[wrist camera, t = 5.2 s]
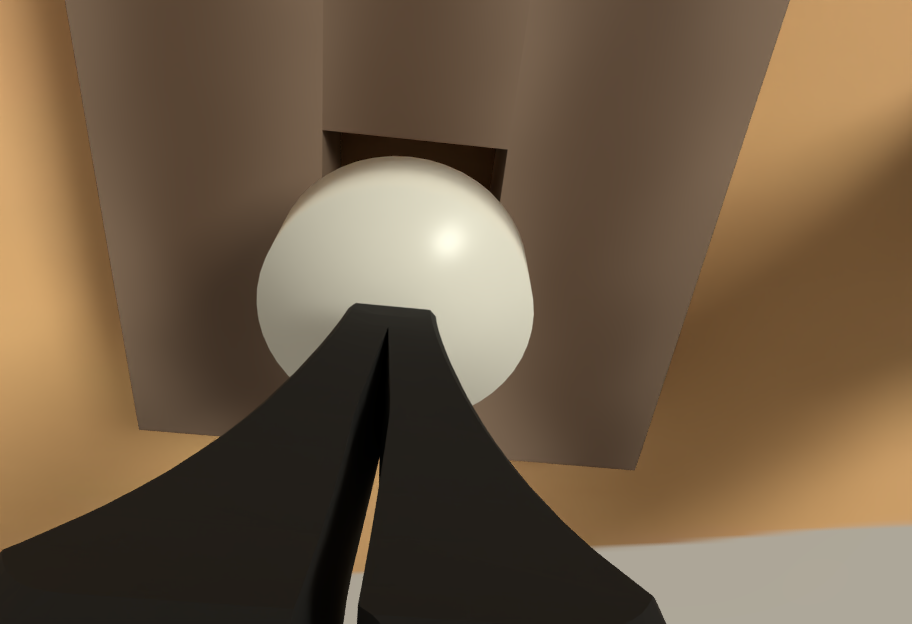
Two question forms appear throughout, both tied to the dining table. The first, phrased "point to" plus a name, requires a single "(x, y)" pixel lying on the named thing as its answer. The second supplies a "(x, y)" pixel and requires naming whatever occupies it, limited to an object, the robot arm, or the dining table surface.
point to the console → (428, 119)
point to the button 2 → (401, 265)
